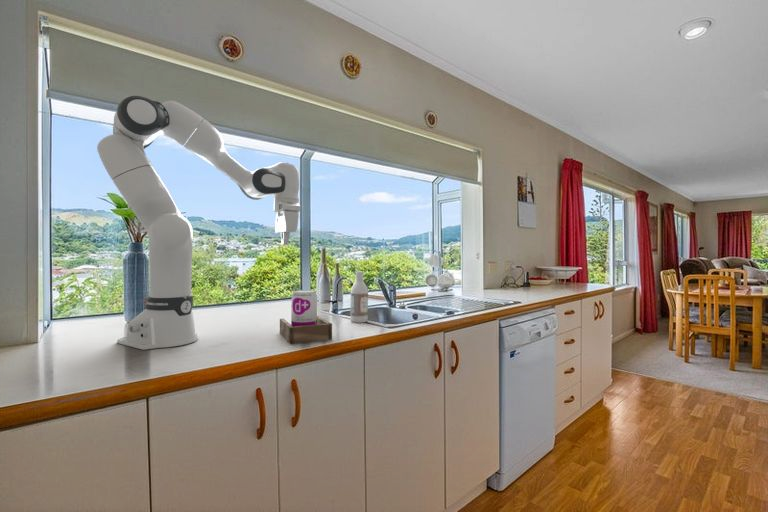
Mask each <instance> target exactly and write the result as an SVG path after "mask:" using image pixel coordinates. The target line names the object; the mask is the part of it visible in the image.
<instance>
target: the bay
mask: <svg viewBox="0 0 768 512" xmlns="http://www.w3.org/2000/svg"><path fill="white" fill-rule="evenodd" d="M279 334H280V336H282V338H283V339H284V340H286V341H287V343H288V344H289V343H290V344H289V345H294V344H303V343H312V342H313V343H314V342H321V341H330V340H332V339H333V323H331V322H329V320H326V319H324V318H322V317H321V316H319V315H317V325H306V326H295V327H293V326H292V325H291V323H290V322H288V321H287V320H286V319H285V318H279Z"/></svg>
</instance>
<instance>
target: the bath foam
mask: <svg viewBox="0 0 768 512" xmlns="http://www.w3.org/2000/svg"><path fill="white" fill-rule="evenodd" d="M349 303H350V307H349V308H350V309H349V310H350V311H349V312H350V322H351V323H356V324H357V323H359V324H360V323H366V321H367V322H368V320H369V319H368V317H369V316H368V315H369V313H368V312H369V308H368V307H369V290H368V286H367V285H366V283H365V281H364V271H361V270H359V271H358V270H357V271H355V281H354V283H353V285H352V286H351V289H350V302H349Z"/></svg>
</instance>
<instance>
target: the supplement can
mask: <svg viewBox="0 0 768 512" xmlns="http://www.w3.org/2000/svg"><path fill="white" fill-rule="evenodd" d="M292 292H293V293H292V294H291V304H290V305H291V306H290V307H291V308H290V309H291V314H290V315H291V316H290V317H291V321H290V324H291V325H292V326H293V327H295V326H306V325H317V316H318V310H317V309H318V295H317V293H316V291H315V290H312V289H300V290H294V291H292Z"/></svg>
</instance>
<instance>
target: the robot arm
mask: <svg viewBox="0 0 768 512" xmlns="http://www.w3.org/2000/svg"><path fill="white" fill-rule="evenodd" d="M112 126H113V127H112V131H113V134H109V135H107V136H105V137H103V138H102V139H101V140H99V142H98V143H97V147H96V149H97V153H98V155H99V159H100V161H101V162H102V165H103V167H104V169H105V170H106V172H107V174H108V176H109V178H110V180H111V181H112V182H113V184H114V185H115V187H116V188H117V190H118V191H119V193H120V194H121V196H122V198H123V199H124V200H125V202H126V204H127V205H128V206H129V208H130V209H131V211H132V212H133V214H134V216H135V217H136V218H137V220H138V221H139V223H140V224H141V225H142V227H143V228H144V231H145V232H146V233H147V235H148V248H149V249H148V260H149V296H148V298H142V301H143V302H142V303H143V304H144V303H145V306H144V309H143V310H142V311H141V312H140V313H139V314H138V315H136V316H135V317H133V319H131V320H130V321H128V324H127V328H126V335H125V336H123V337H120V338H119V339H117V341H116V343H117V344H121V345H123V346H127V347H131V348H136V349H139V350H152V349H160V348H161V349H163V348H171V347H178V346H184V345H189V344H191V343H194V342H197V340H198V337H197V336H198V332H197V331H196V325H195V318H194V312H193V306H194V295H193V294H192V267H193V266H192V264H193V237H194V235H193V234H194V231H193V227H192V225H191V222H190V221H189V220H188V219H187V218H186V216H185V217H184V216H183V215H182V213H181V211H180V210H179V208H178V206H177V205H176V203H175V201H174V199H173V198H172V195H171V194H170V192H169V190H168V188H167V187H166V185H165V184H164V182H163V180H162V178H161V177H160V175H159V174H158V172H157V171H156V169H155V167H154V165H153V164H152V162H151V161H150V160H149V158H148V157H147V154H146V152H145V149H146V148H148V147H149V146H150V145H152V143H153V142H154V141H155V139H157V137H158V136H165V137H168V138H170V139H172V140H174V141H176V142H177V143H178V144H180V145H181V146H182V147H184V148H185V149H187V150H188V151H189V152H191V153H192V154H195V156H198V157H199V158H201V159H203V160H204V161H206V163H209V164H211V165H212V166H213V167H214V168H216V170H218V171H220V172H221V173H222V174H223V175H225V176H226V177H228V178H229V179H230V180H232V181H233V182H234V183H235V184H236V186H238V187H239V190H241V192H242V193H243V195H244V196H246V197H247V198H249V199H251V200H255V201H256V200H257V201H259V200H262V199H264V198H265V197H267V196H268V197H269V196H273V212H274V213H276V215H275V225H274V226H275V227H274V230H275V234H280V239H281V240H280V241H281V246H288V245H289V239H290V234H291V233H296V232H297V230H298V225H299V217H300V216H299V212H301V205H300V204H299V201H300V199H299V190H300V174H299V173H300V172H299V170H298V167H296V166H295V165H294V164H291V163H289V162H284V161H280V162H278V163H276V164H274V165H271V166H266V167H261V168H257V169H256V170H253V171H252V170H249V169H247V168H246V167H244V166H243V165H241V164H240V162H238V161H237V160H236V159H234V158H233V157H232V156H230V155H229V153H228V152H227V150H226V149H225V145H224V139H223V136H222V133H221V132H220V131H219V130H218V129H217V128H216V127H215V126H214V125H213V124H212V123H210V122H209V121H208V120H207V119H205V118H204V117H202V116H201V115H200V114H198V113H196V112H195V111H193V110H192V109H190V108H189V107H187V106H185V105H184V104H182V103H180V102H178V101H175V100H167V101H164V102H162V103H161V102H159V101H156V100H152V99H150V98H148V97H145V96H143V95H142V96H141V95H130V96H128V97H125V98H124V99H122V100H121V102H120V103H119V104H118V106H117V109H116V112H115V113H114V117H113V125H112Z"/></svg>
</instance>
